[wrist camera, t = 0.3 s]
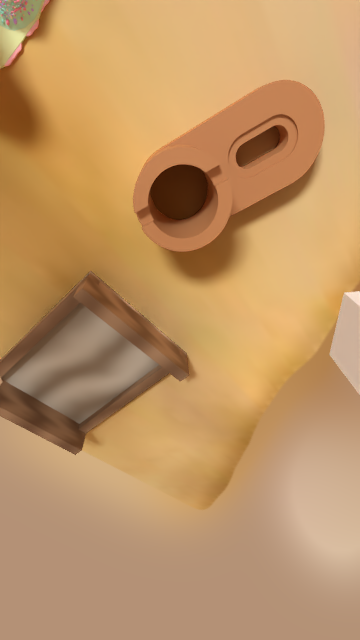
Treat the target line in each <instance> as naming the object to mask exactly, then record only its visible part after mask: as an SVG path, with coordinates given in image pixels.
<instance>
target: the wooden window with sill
mask: <svg viewBox="0 0 360 640" xmlns="http://www.w3.org/2000/svg"><path fill="white" fill-rule="evenodd" d="M169 373H170V374H171V375H173V376H174V377H175V378H177V379H178V380H179V381H182V380H183V379H185V378H186V377H188V376H189V370H188V362H187V353H186V352H184V351H183V350H182V349H181V348H180V347H179V346H177V345H176V344H175V343H174V342H173V341H172V340H170V339H169V338H168V337H167V336H166V335H165V334H163V333H162V332H161V331H160V330H159V329H158V328H156V327H155V326H154V325H153V324H152V323H151V322H149V321H148V320H147V319H146V318H145V317H144V316H142V315H141V314H140V313H139V312H138V311H137V310H135V309H134V308H133V307H132V306H131V305H130V304H129V303H127V302H126V301H125V300H124V299H123V298H122V297H120V296H119V295H118V294H117V293H116V292H115V291H113V290H112V289H111V288H110V287H109V286H108V285H106V284H105V283H104V282H103V281H102V280H101V279H99V278H98V277H97V276H96V275H95V274H94V273H92V272H91V271H90V272H89V273H88V274H87V275H86V276H85V277H84V278H83V279H82V280H81V281H80V282H79V283H78V284H77V285H76V286H75V287H74V288H73V289H72V290H71V291H70V292H69V293H68V294H67V295H66V296H65V297H64V298H63V299H62V300H61V301H60V302H59V303H58V304H57V305H56V306H55V307H54V308H53V309H52V310H51V311H50V312H48V313H47V314H46V315H45V316H44V317H43V318H42V319H41V320H40V321H39V322H38V323H37V324H36V325H35V326H34V327H33V328H32V329H31V330H30V331H29V332H28V333H27V334H26V335H25V336H24V337H23V338H22V339H21V340H20V341H19V342H18V343H17V344H16V345H15V346H14V347H13V348H12V349H11V350H10V351H9V352H8V353H7V354H6V355H5V356H4V357H3V358H2V359H1V360H0V377H1V379H2V381H3V382H2V383H1V385H0V416H1V417H3V418H5V419H7V420H9V421H11V422H13V423H15V424H17V425H19V426H21V427H23V428H25V429H27V430H29V431H30V432H32V433H34V434H36V435H38V436H40V437H42V438H44V439H46V440H48V441H50V442H52V443H54V444H56V445H58V446H60V447H62V448H63V449H65V450H67V451H69V452H71V453H73V454H75V455H76V454H77V453H78V452H80V451H81V450H82V447H83V443H84V439H85V435H86V433H87V432H88V431H90V430H91V429H93V428H94V427H95V426H97V425H98V424H100V423H101V422H102V421H104V420H105V419H107V418H108V417H109V416H111V415H112V414H113V413H115V412H116V411H118V410H119V409H120V408H122V407H123V406H125V405H126V404H127V403H129V402H130V401H132V400H133V399H134V398H136V397H137V396H138V395H140V394H141V393H143V392H144V391H145V390H147V389H148V388H150V387H151V386H152V385H154V384H155V383H157V382H158V381H159V380H161V379H162V378H163V377H165V376H166V375H168V374H169Z"/></svg>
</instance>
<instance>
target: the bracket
mask: <svg viewBox="0 0 360 640" xmlns="http://www.w3.org/2000/svg"><path fill="white" fill-rule="evenodd" d="M272 126H275V127H276V128H277V129H278V130H279V133H280V140H279V143H278V145H277V146H276V147H275V148H274V149H273V150H271V151H270V152H268V153H266V154H264V155H263V156H261V157H259V158H257V159H256V160H254V161H252V162H250V163H249V164H247V165H245V166H239V165H238V164H237V162H236V152H237V150H238V148H239V147H240V146H241V145H242V144H243V143H245V142H247V141H248V140H250V139H252V138H254V137H255V136H257V135H259V134H260V133H262V132H264V131H266V130H267V129H269V128H271V127H272ZM323 136H324V115H323V110H322V107H321V104H320V102H319V100H318V99H317V97H316V95H315V94H314V93H313V92H312V91H311V90H310V89H309V88H308V87H306V86H305V85H303V84H301V83H299V82H296V81H291V80H280V81H275V82H272V83H269V84H267V85H264V86H262V87H260V88H258V89H256V90H254V91H252V92H251V93H249V94H247V95H246V96H244V97H243V98H241V99H239V100H238V101H236V102H234V103H233V104H231V105H230V106H228V107H226V108H225V109H223V110H222V111H220V112H218V113H217V114H215V115H213V116H212V117H210V118H209V119H207V120H205V121H204V122H202V123H201V124H199V125H197V126H196V127H194V128H192V129H191V130H189V131H188V132H186V133H184V134H183V135H181V136H180V137H178V138H176V139H175V140H173V141H171V142H170V143H168V144H167V145H165V146H163V147H162V148H160V149H159V150H157V151H156V152H154V153H153V154H152V155H151V156H150V157H149V159H148V160H147V161H146V163H145V164H144V166H143V168H142V170H141V172H140V175H139V177H138V179H137V182H136V185H135V189H134V195H133V204H134V211H135V213H136V214H137V217H138V219H139V221H140V223H141V225H142V230H143V231H144V233H145V234H146V235H147V236H148V237H149V238H150V239H151V240H152V241H153V242H154V243H156V244H157V245H159V246H161V247H163V248H166V249H168V250H172V251H180V252H184V251H192V250H196V249H199V248H201V247H203V246H205V245H207V244H209V243H210V242H211V241H213V240H214V239H215V238H216V237H217V236H218V235H219V234H220V233H221V231H222V230H223V228H224V227H225V225H226V223H227V221H228V219H229V217H230V216H232V215H234V214H236V213H238V212H239V211H241V210H243V209H245V208H247V207H249V206H251V205H253V204H254V203H256V202H258V201H260V200H262V199H264V198H266V197H267V196H269V195H271V194H273V193H275V192H277V191H279V190H281V189H282V188H284V187H286V186H288V185H290V184H292V183H293V182H295V181H296V180H298V179H299V178H300V177H301V176H303V175H304V174H305V173H306V172H307V170H308V169H309V168H310V167H311V165H312V164H313V162H314V161H315V159H316V157H317V155H318V153H319V151H320V148H321V145H322V141H323ZM180 164H188V165H192V166H196V167H198V168H200V169H201V170H202V171H203V172H204V174H205V176H206V179H207V184H208V193H207V197H206V200H205V203H204V205H203V206H202V208H201V209H200V210H199V211H198V212H197V213H196V214H195V215H193V216H191V217H189V218H186V219H181V220H177V219H171V218H169V217H166V216H165V215H163V214H162V213H161V212H160V211H159V210H158V209H157V208H156V206H155V205H154V203H153V201H152V198H151V192H150V188H151V186H152V184H153V182H154V180H155V179H156V178H157V176H158V175H159V174H160V173H161V172H163V171H164V170H166V169H167V168H169V167H172V166H175V165H180Z"/></svg>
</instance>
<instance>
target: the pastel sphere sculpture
mask: <svg viewBox="0 0 360 640" xmlns="http://www.w3.org/2000/svg"><path fill="white" fill-rule="evenodd" d="M49 1H50V0H0V69H1V68H3V67H5V66H9V65H11V63H12V61H13V60H14V59H15V58H16V57H17V55H18V53H19V52H20V51H21V50H22V42H23V41H24V40H25V38H26V37H27V36H31V35H32V34H33V32H34V31H35V30H36V29H37V28H38V26H39V18H40V15H41V12H42V11H43V10H44V8H45V6H46V5H47V4H48V3H49Z"/></svg>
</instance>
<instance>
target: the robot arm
mask: <svg viewBox="0 0 360 640" xmlns="http://www.w3.org/2000/svg"><path fill="white" fill-rule="evenodd" d="M330 356H331V357H332V359H333V360H334V361H335V363H336V364H337V365H338V367H339V368H340V369H341V371H342V372H343V373H344V375H345V376H346V377H347V379H348V380H349V381H350V383H351V384H352V385H353V387H354V388H355V389H356V391H357V392H358V393H359V394H360V291H359V292H347V293H344V295H343V299H342V304H341V308H340V312H339V316H338V321H337V325H336V329H335V333H334V337H333V342H332V346H331V350H330ZM2 382H3V381H2V379H1V377H0V385H1V383H2Z"/></svg>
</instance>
